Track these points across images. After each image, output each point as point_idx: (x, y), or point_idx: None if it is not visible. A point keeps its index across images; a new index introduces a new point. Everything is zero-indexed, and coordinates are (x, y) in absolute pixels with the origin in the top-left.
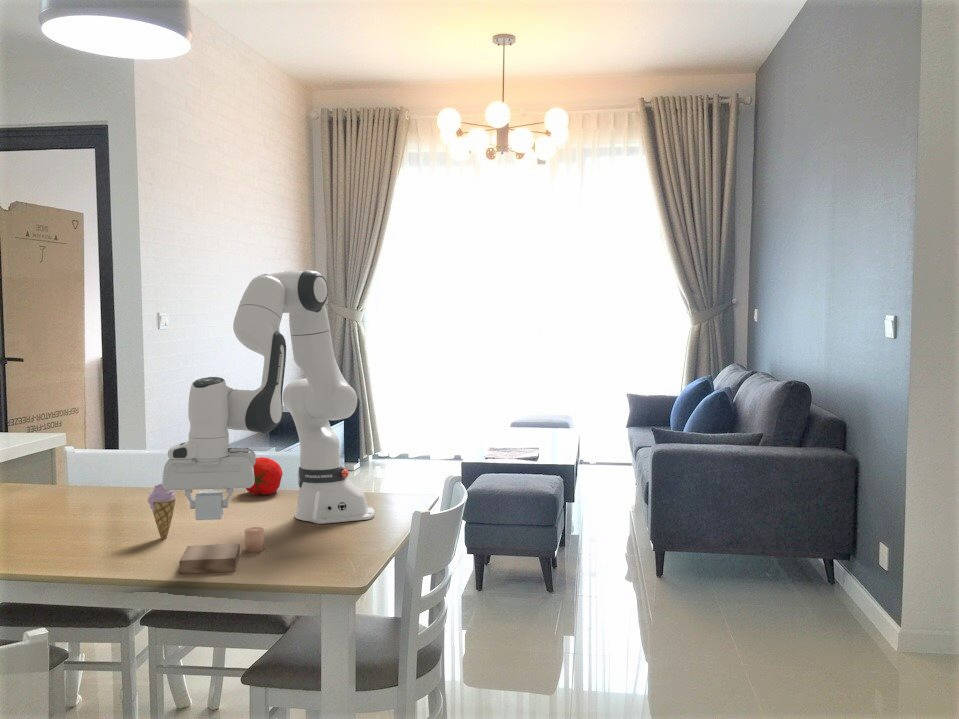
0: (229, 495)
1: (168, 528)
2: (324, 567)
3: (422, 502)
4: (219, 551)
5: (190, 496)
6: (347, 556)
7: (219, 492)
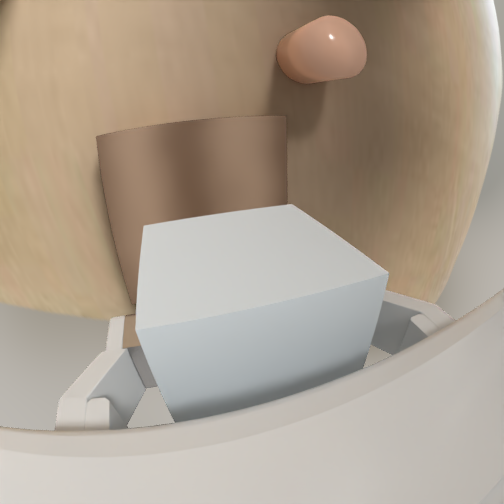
0: (395, 348)
1: None
2: (424, 233)
3: None
4: (230, 209)
5: (122, 409)
6: (457, 171)
7: (355, 343)
